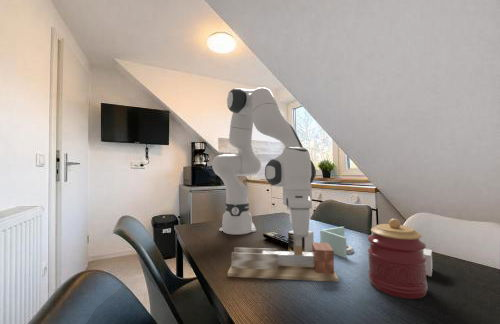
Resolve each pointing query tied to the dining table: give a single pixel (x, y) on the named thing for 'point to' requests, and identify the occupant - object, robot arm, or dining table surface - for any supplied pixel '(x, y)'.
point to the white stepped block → (294, 257)
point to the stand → (266, 266)
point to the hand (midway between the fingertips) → (297, 243)
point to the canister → (397, 260)
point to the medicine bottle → (305, 242)
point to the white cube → (428, 261)
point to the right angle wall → (336, 241)
